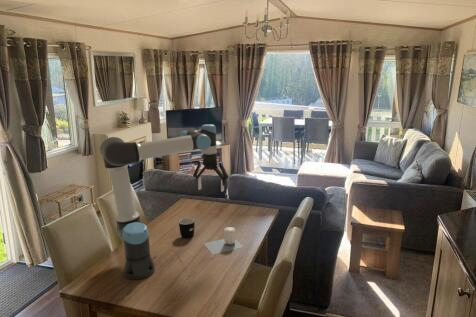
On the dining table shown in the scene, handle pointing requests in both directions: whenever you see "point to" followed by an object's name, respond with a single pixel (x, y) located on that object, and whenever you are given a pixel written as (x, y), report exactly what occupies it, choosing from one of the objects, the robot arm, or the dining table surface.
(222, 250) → the post board
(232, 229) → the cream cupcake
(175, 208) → the dining table surface
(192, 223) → the mug
